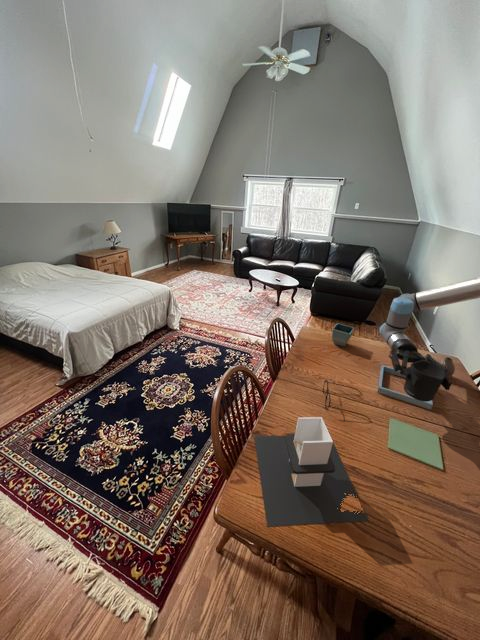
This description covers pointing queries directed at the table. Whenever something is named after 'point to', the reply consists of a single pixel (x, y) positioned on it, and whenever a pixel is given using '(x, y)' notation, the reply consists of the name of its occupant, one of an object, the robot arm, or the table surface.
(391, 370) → the gray square frame
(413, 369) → the pen holder
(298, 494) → the hopper stand
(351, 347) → the table surface
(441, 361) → the vase
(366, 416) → the glasses
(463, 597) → the table surface
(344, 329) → the flower pot
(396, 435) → the mat
